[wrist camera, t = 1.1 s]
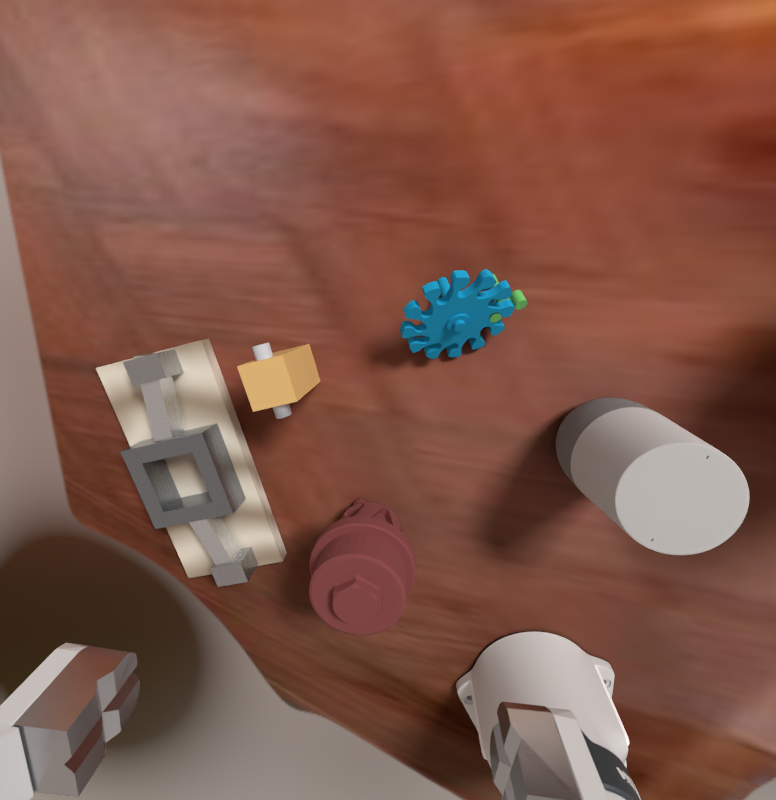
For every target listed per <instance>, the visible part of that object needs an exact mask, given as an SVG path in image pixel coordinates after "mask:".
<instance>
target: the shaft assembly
mask: <svg viewBox="0 0 776 800" xmlns="http://www.w3.org/2000/svg"><path fill="white" fill-rule="evenodd" d="M123 364H124V367H125V369H126V371H127V374H128V376H129V378H130V381H131V383H132V385H133V386H136V385H141V389H142V393H143V397H144V401H145V405H146V409H147V413H148V418H149V422H150V426H151V430H152V434H153V438H151V439H147V440H143V441H140V442H138V443H136V444H134V445H132V446H130V447H128V448H126V449H125V450H123V451H121V454H122V456H123V459H124V461H125V463H126V465H127V467H128V470H129V472H130V474H131V476H132V479H133V481H134V483H135V485H136V487H137V490H138V492H139V494H140V496H141V498H142V501H143V503H144V505H145V507H146V510H147V512H148V514H149V516H150V518H151V521H152V523H153V525H154V527H155V529H159V528H164V527H169V526H174V525H179V524H184V523H190V525H191V527H192V528H193V530H194V531H195V533H196V534H197V536H198V538H199V539H200V541H201V542H202V544H203V546H204V547H205V549H206V550H207V552H208V554H209V555H210V557H211V558H212V560H213V561H214V564H213V565H212V567H211V568H210V570H211V572H212V574H213V577H214V579H215V581H216V584H217V586H218V587H220V586H226V585H232V584H238V583H243V582H248V581H249V579H250V577H251V576H252V574H253V572H254V571H255V569H256V567H257V566H258V562H257V560H256V557H255V555H254V552H253V549H252V547H247V548H242V549H240V548H239V546H238V544H237V543H236V541H235V539H234V538H233V536H232V534H231V533H230V531H229V530H228V528H227V526H226V525H225V523H224V521H223V520H222V518H221V516H224V515H229V514H233V513H234V512H235V511H236V510H237V509H238V508H239V506H240V505H241V504H242V503H243V502H244V500H245V499H246V498H245V495H244V492H243V490H242V487H241V485H240V482H239V479H238V477H237V474H236V471H235V469H234V466H233V463H232V461H231V458H230V455H229V453H228V450H227V447H226V445H225V442H224V440H223V437H222V434H221V432H220V429H219V426H218V424H217V423H215V424H211V425H207V426H203V427H198V428H194V429H190V430H185V431H184V427H183V422H182V418H181V413H180V409H179V404H178V400H177V395H176V391H175V386H174V382H173V377H172V376H174V375H177V374H180V373H183V372H184V371H183V369H182V366H181V363H180V361H179V358H178V356H177V353H176V350H175V349H174V350H169V351H164V352H159V353H148V354H143V355H138V356H134V359H132V360H129V361H125V362H123ZM191 452H192V453H193V455H194V458H195V460H196V463H197V465H198V468H199V470H200V473H201V475H202V478H203V480H204V483H205V485H206V488H207V490H208V492H205V493H200V494H196V495H191V496H186V497H180V495H179V492H178V490H177V488H176V485H175V483H174V481H173V478H172V476H171V473H170V471H169V469H168V466H167V464H166V462H165V458H169V457H174V456H178V455H183V454H187V453H191Z"/></svg>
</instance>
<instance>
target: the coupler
mask: <svg viewBox="0 0 776 800" xmlns="http://www.w3.org/2000/svg"><path fill="white" fill-rule="evenodd" d="M252 348H253V351H254V354H255V357H256V360H253V361H250V362H248V363H245V364H242V365H240V366H237V368H238V370H239V373H240V376H241V379H242V382H243V385H244V388H245V390H246V393H247V396H248V399H249V402H250V405H251V408H252V410H253V412H255V411H259V410H263V409H267V408H272V407H273V410H274V413H275V416H276V419H280V418H284V417H287V416H289V415H291V414H292V412H291V409H290V406H289V403H293V402H297V401H298V400H300V399H301V398H302V397H303V396H304V395H305V394H306V393H308V392H309V391H310V390H311V389H312V388H313V387H315V386H316V385H317V384H318V383H319V382H320V378H319V375H318V371H317V368H316V365H315V362H314V358H313V355H312V352H311V348H310V345H309V344H306V345H302V346H298V347H295V348H291V349H287V350H283V351H279V352H275V353H272V351H271V347H270V344H269V343H265V344H261V345H257V346H254V347H252Z"/></svg>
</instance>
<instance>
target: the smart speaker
mask: <svg viewBox="0 0 776 800" xmlns="http://www.w3.org/2000/svg"><path fill="white" fill-rule="evenodd" d="M556 453H557V457H558V460H559V463H560V465H561V467H562V469H563V471H564V472H565V474H566V475H567V477H568V478H569V479H570V480H571V482H572V483H573V484H574V485H575V486H576V487H577V488H578V489H579V490H580V491H581V492H582V493H583V494H584V495H585V496H586V497H587V498H588V499H589V500H591V501H592V502H593V503H594V504H595V505H596V506H597V507H598V508H599V509H601V510H602V511H603V512H604V513H605V514H606V515H607V516H608V517H609V518H610V519H612V520H613V521H614V522H615V523H616V524H617V525H618V526H619V527H620V528H621V529H623V530H624V531H625V532H626V533H627V534H628V535H629V536H630V537H632V538H633V539H634V540H635V541H637V542H638V543H640V544H641V545H643V546H645V547H647V548H649V549H651V550H654V551H656V552H660V553H664V554H670V555H691V554H697V553H701V552H705V551H708V550H710V549H713V548H715V547H716V546H718V545H720V544H722V543H723V542H725V541H726V540H727V539H728V538H730V537H731V536H732V535H733V534H734V533H735V532H736V530H737V529H738V528H739V527H740V525H741V524H742V522H743V520H744V518H745V516H746V513H747V510H748V506H749V498H750V495H749V488H748V484H747V481H746V478H745V476H744V474H743V473H742V471H741V470H740V468H739V467H738V466H737V464H736V463H735V462H734V461H733V460H732V459H730V458H729V457H728V456H727V455H725V454H724V453H722V452H721V451H719V450H718V449H716V448H714V447H713V446H711V445H709V444H708V443H706V442H705V441H703V440H701V439H700V438H698V437H696V436H695V435H693V434H692V433H690V432H688V431H687V430H685V429H683V428H682V427H680V426H679V425H677V424H675V423H674V422H672V421H670V420H669V419H667V418H665V417H664V416H662V415H661V414H659V413H657V412H655V411H653V410H651V409H649V408H648V407H646V406H643V405H641V404H639V403H636V402H633V401H630V400H626V399H621V398H599V399H594V400H591V401H588V402H585V403H583V404H581V405H579V406H578V407H576V408H575V409H574V410H572V411H571V412H570V413H569V414H568V415H567V416H566V417H565V419H564V420H563V421H562V423H561V425H560V427H559V429H558V432H557V436H556Z"/></svg>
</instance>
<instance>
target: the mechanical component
mask: <svg viewBox="0 0 776 800" xmlns="http://www.w3.org/2000/svg"><path fill="white" fill-rule="evenodd" d="M309 569H310V575H311V578H312V579H311V581H310V586H309V597H310V601H311V604H312V607H313V608H314V610H315V612H316V613H317V615H318V616H319V617H320V618H321V619H322V620H323V621H324V622H325V623H326V624H328V625H329V626H331V627H332V628H334V629H336V630H338V631H341V632H344V633H347V634H352V635H371V634H375V633H379V632H381V631H384V630H386V629H387V628H389V627H390V626H392V625H393V624H394V623H395V622H396V621H397V620H398V619H399V617H400V616H401V614H402V612H403V610H404V607H405V602H406V597H407V596H408V594H409V593H410V591H411V589H412V587H413V585H414V581H415V575H416V560H415V554H414V551H413V548H412V546H411V544H410V542H409V541H408V539H407V538H406V536H405V535H404V534H403V533H402V527H401V523H400V521H399V519H398V517H397V516H396V514H395V513H394V512H393V511H392V510H391V509H389V508H388V507H386V506H384V505H382V504H379V503H375V502H367V501H366V500H364V499H362V498H359V499H356V500H355V501H354V503H353V506H351V507H349V508H348V509H347V510H346V511H345V512H344V513H343V515H342V516H341V518H340V520H338V521H336V522H334V523H332V524H331V525H330V526H328V527H327V528H326V529H325V530H324V531H323V532H322V533H321V534H320V536H319V537H318V539H317V541H316V543H315V545H314V548H313V550H312V553H311V556H310V562H309Z"/></svg>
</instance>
